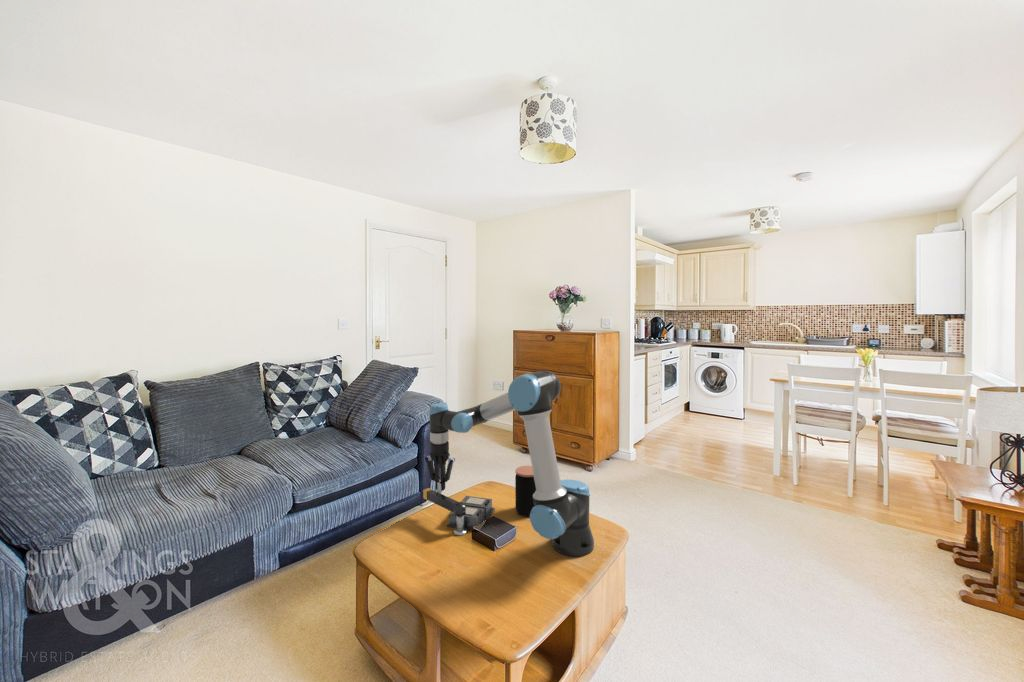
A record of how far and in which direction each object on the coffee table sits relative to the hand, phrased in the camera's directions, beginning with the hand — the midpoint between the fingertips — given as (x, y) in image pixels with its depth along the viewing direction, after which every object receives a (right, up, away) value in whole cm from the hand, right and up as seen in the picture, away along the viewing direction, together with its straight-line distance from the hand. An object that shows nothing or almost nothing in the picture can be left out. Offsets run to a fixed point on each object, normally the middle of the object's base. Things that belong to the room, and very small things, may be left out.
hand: (440, 497), depth 170 cm
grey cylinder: (+10, -9, -12) cm, 18 cm away
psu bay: (+13, -8, -1) cm, 15 cm away
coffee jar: (+37, -8, +5) cm, 38 cm away
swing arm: (+2, -1, -6) cm, 6 cm away
